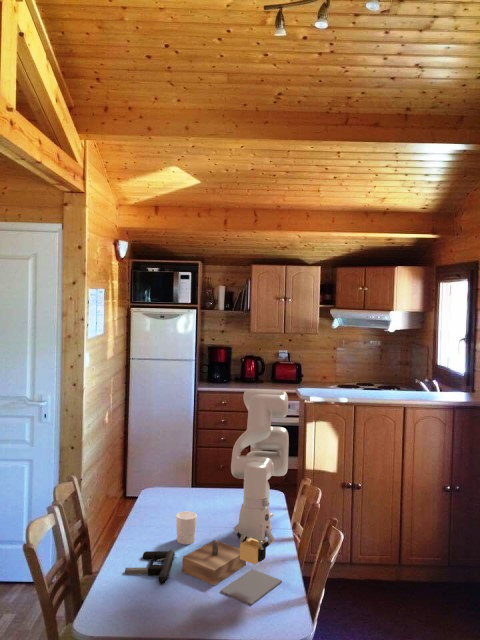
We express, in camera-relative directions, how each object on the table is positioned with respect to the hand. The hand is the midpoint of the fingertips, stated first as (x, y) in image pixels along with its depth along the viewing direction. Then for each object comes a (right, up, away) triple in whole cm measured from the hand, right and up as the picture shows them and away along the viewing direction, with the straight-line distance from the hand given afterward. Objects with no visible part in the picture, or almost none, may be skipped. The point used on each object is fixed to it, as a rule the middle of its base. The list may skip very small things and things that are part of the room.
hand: (252, 556), depth 174 cm
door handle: (-35, -9, +10) cm, 37 cm away
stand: (-13, -9, +12) cm, 20 cm away
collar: (0, -1, 0) cm, 1 cm away
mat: (0, -10, +1) cm, 10 cm away
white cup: (-25, -9, +33) cm, 42 cm away
